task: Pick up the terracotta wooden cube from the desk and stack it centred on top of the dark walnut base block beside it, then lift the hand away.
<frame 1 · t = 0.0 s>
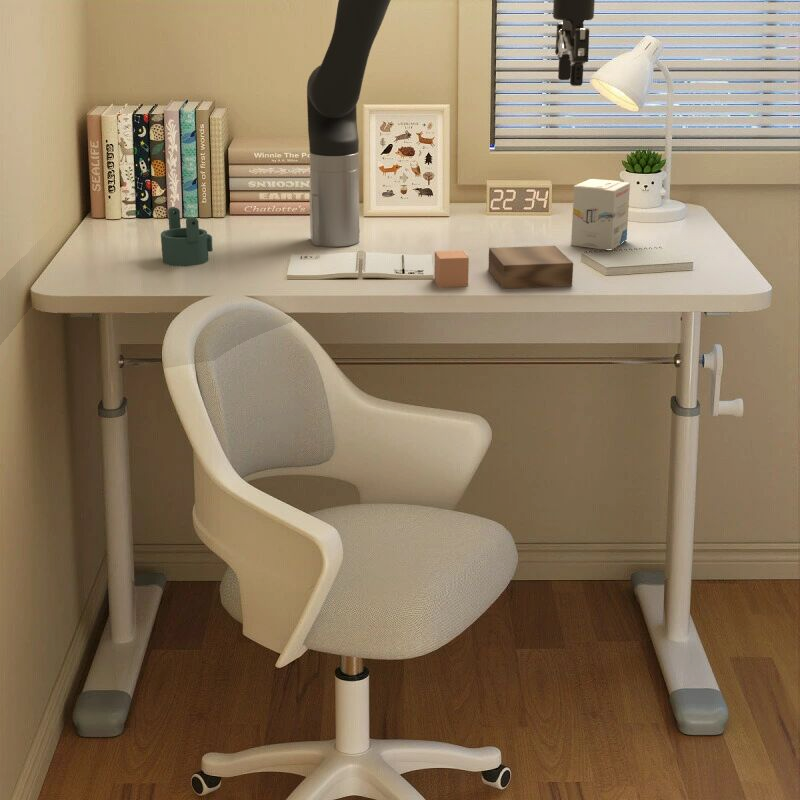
hand: (569, 82, 237), 29 cm above the table, tool pointing down, fingers open, 8 cm apart
walnut base: (529, 277, 218), on the table
terracotta cube: (451, 282, 215), on the table
bracket: (187, 261, 228), on the table
ink box: (598, 244, 241), on the table
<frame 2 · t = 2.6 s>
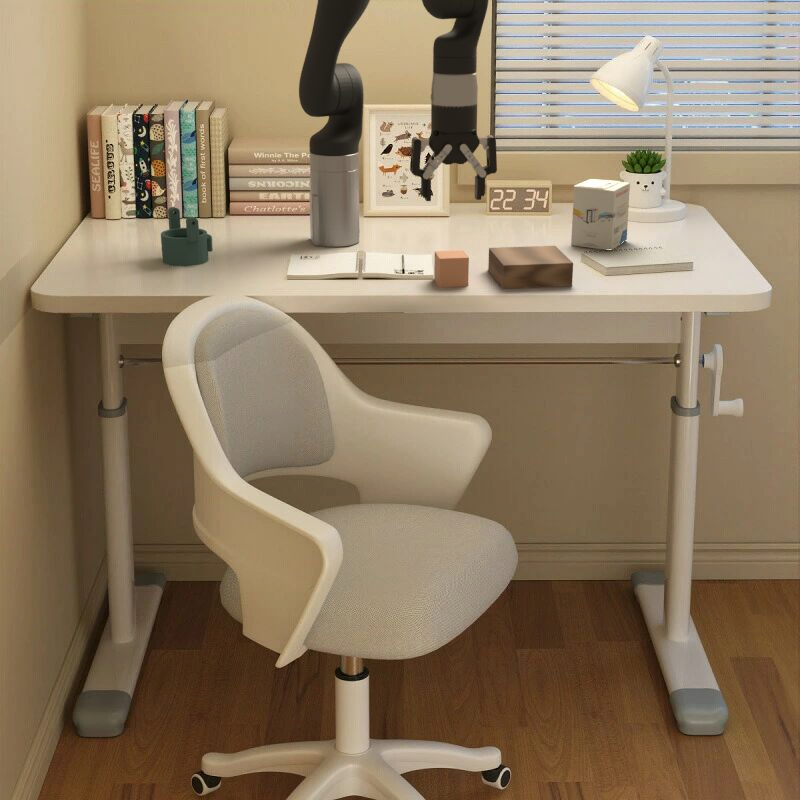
hand: (453, 199, 210), 14 cm above the table, tool pointing down, fingers open, 8 cm apart
nothing on the table moved.
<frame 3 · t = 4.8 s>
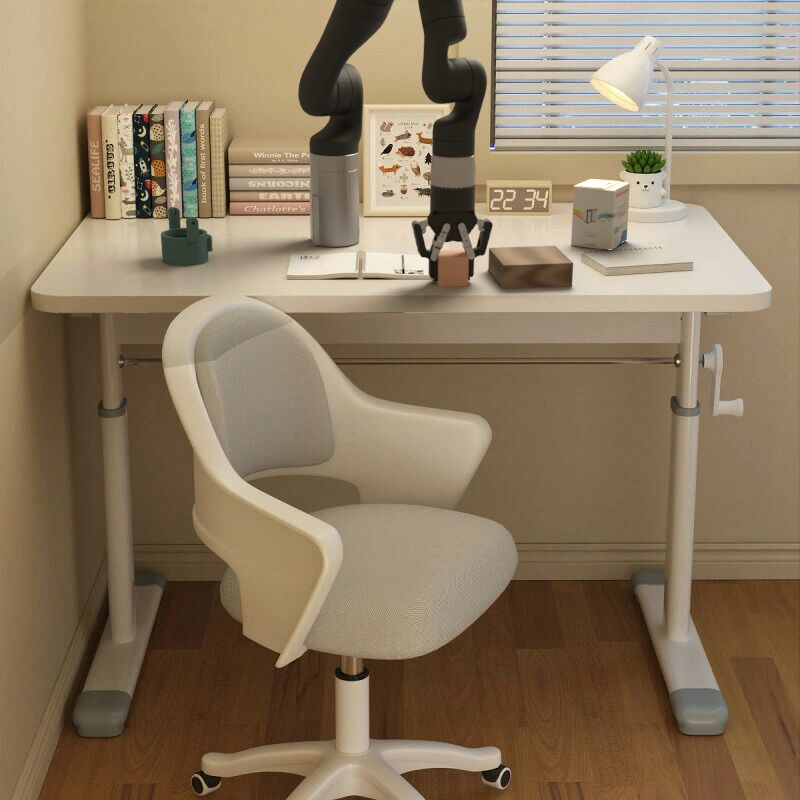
hand: (451, 279, 215), 0 cm above the table, tool pointing down, fingers closed on terracotta cube, 5 cm apart
terracotta cube: (450, 282, 215), on the table, touching gripper
everything else where it was.
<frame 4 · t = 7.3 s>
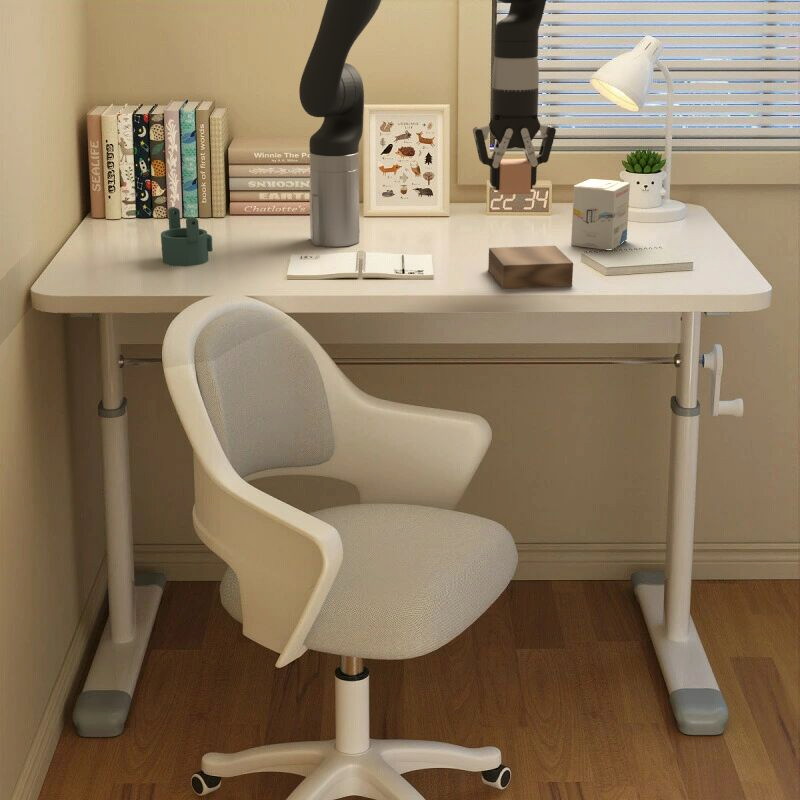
hand: (513, 188, 211), 16 cm above the table, tool pointing down, fingers closed on terracotta cube, 5 cm apart
terracotta cube: (512, 191, 211), point 15 cm above the table, touching gripper
everything else where it was.
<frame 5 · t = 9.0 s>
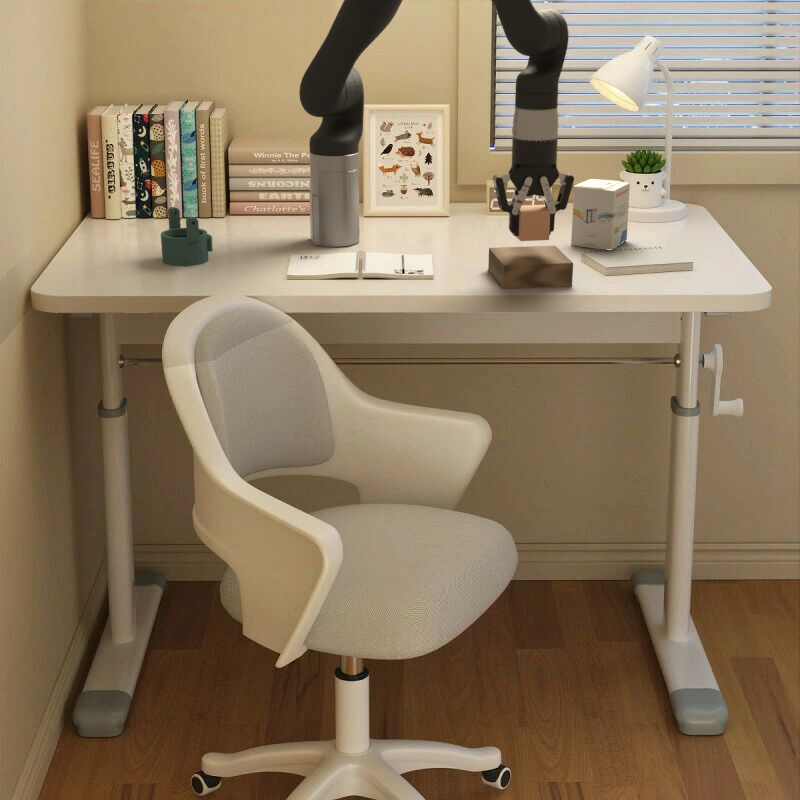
hand: (531, 234, 215), 8 cm above the table, tool pointing down, fingers closed on terracotta cube, 5 cm apart
terracotta cube: (531, 237, 215), point 7 cm above the table, touching gripper
everything else where it was.
when the fingers open (6 cm above the table, at t = 10.2 s): terracotta cube drops 1 cm, resting on walnut base.
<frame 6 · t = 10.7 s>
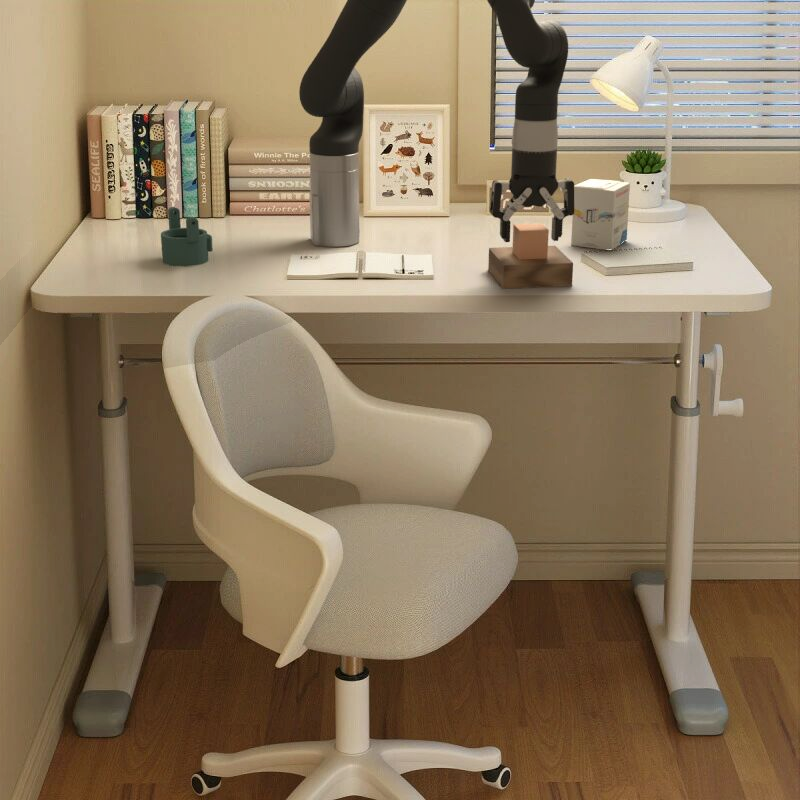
hand: (530, 240, 215), 7 cm above the table, tool pointing down, fingers open, 8 cm apart
terracotta cube: (529, 255, 216), point 4 cm above the table, touching walnut base
everything else where it was.
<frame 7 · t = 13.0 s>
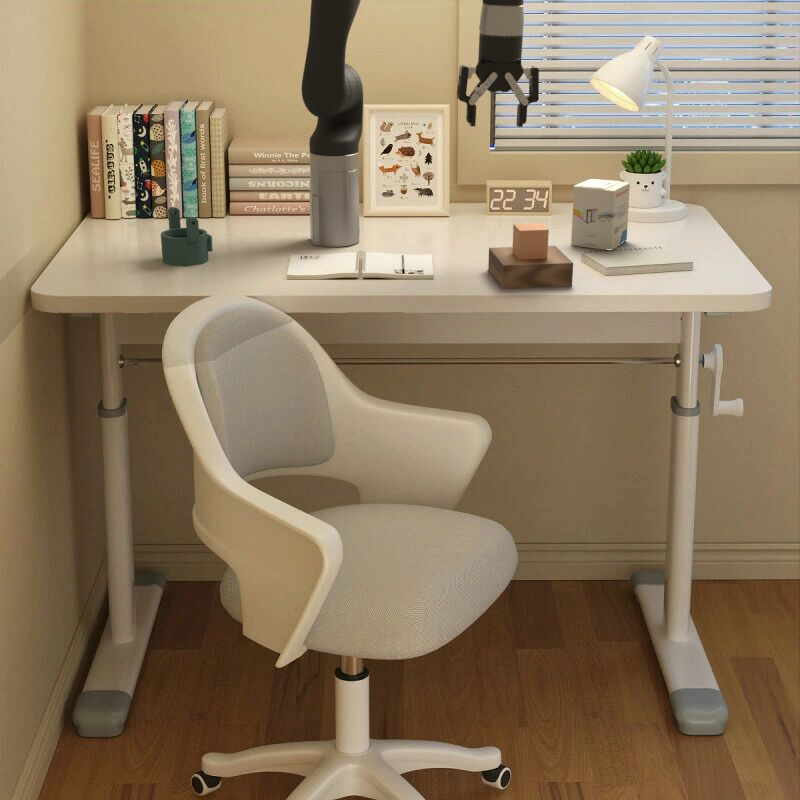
hand: (496, 126, 223), 24 cm above the table, tool pointing down, fingers open, 8 cm apart
nothing on the table moved.
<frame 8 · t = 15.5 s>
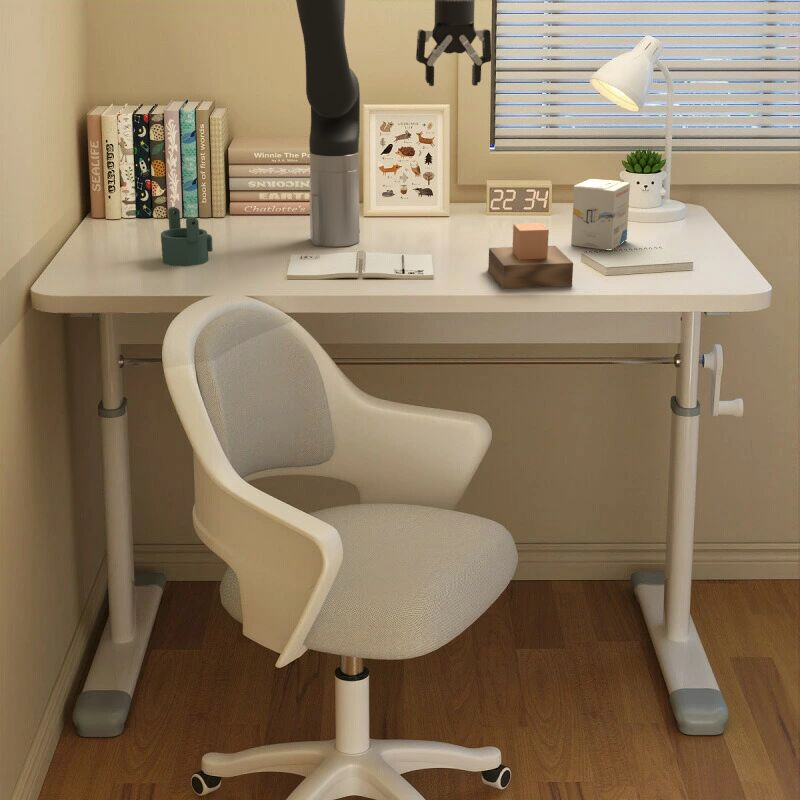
hand: (453, 85, 242), 28 cm above the table, tool pointing down, fingers open, 8 cm apart
nothing on the table moved.
at the end: terracotta cube inside the target area on the walnut base (0.1 cm from its centre), point 4.0 cm above the walnut base's base; terracotta cube tilted 0°; the gripper is holding nothing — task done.
